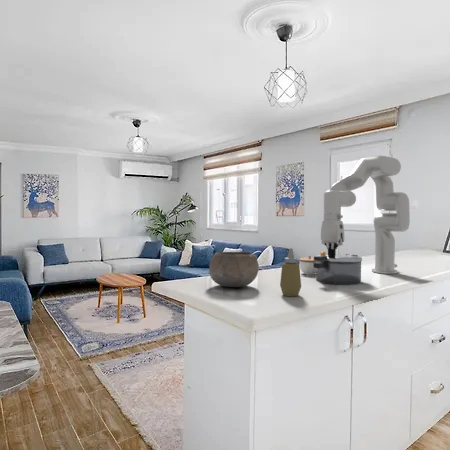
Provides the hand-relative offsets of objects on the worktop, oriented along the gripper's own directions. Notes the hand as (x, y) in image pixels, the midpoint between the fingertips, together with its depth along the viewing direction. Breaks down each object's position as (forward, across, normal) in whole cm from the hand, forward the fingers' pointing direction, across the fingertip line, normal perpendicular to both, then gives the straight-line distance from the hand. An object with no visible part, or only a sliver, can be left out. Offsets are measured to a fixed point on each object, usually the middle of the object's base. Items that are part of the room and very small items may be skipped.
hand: (331, 257), depth 164 cm
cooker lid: (+1, 0, -3) cm, 3 cm away
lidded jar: (+12, +21, -10) cm, 26 cm away
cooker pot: (+11, 0, -2) cm, 11 cm away
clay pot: (+12, +18, +43) cm, 48 cm away
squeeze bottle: (+12, -7, +35) cm, 37 cm away
